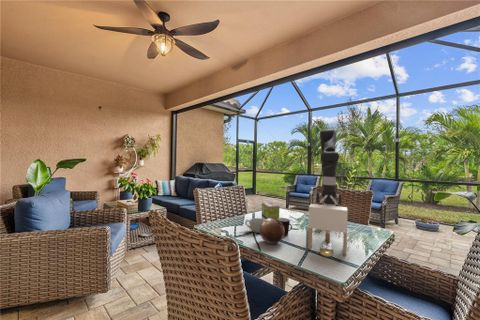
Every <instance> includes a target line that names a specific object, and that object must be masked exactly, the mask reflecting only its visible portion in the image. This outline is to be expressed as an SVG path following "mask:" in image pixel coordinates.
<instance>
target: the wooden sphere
mask: <svg viewBox="0 0 480 320" xmlns="http://www.w3.org/2000/svg"><path fill="white" fill-rule="evenodd" d="M284 233H285V230H284V226H283V224H282V223H281V222H280V221H279V220H278V219H276V218H268V219H266V220H264V221H263V222H262V223H261V225H260V233H259V235H260V237H261V238H262V240H263V241H264V242H266V243H268V244H271V245H274V244H277V243H279V242H280V241H282V240H283V238H284V237H285V236H284Z"/></svg>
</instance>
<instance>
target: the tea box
mask: <svg viewBox="0 0 480 320" xmlns="http://www.w3.org/2000/svg"><path fill="white" fill-rule="evenodd" d="M268 218H276V219H278V218H280V205H278V204H276V203H274V202H273V201H270V202H267V201H266V202H261V219H264V220H266V219H268Z"/></svg>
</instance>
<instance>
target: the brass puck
mask: <svg viewBox="0 0 480 320" xmlns="http://www.w3.org/2000/svg"><path fill="white" fill-rule="evenodd" d="M319 253H320V255H321V256H323V257H326V258H331V257H333V253H332V252H331V251H328V250H321V251H320V250H319Z"/></svg>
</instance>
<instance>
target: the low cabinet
mask: <svg viewBox="0 0 480 320" xmlns="http://www.w3.org/2000/svg"><path fill="white" fill-rule="evenodd" d="M313 229H314V230H321V231H322V230H323V231H326V230H328V231H330V232H336V233H337V232H338V233H343V236H342V237H343V239H342V240H343V241H342V242H343V243H342V251H343V255H344V256H347V249H348V245H347V243H348V240H347V239H348V207H347V206H339V205H338V206H329V205H324V204H322V205H319V203H318V204H316V203H310V205H309V206H308V235H307V236H308V237H307V239H308V240H307V249H308V250H311V249H312V245H313Z"/></svg>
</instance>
